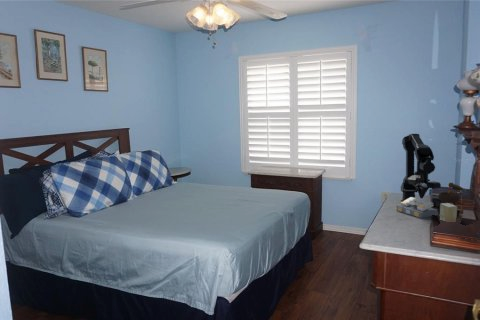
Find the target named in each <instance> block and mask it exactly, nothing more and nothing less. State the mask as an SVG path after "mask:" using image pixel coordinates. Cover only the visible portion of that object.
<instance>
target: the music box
mask: <svg viewBox="0 0 480 320" xmlns="http://www.w3.org/2000/svg"><path fill="white" fill-rule="evenodd" d="M451 188H452V190H454V191H457V193H455V192H451V190H449V189H451ZM467 190H468V188H463V187H462V186H460V185H459V184H456V183H455V184H454V182H449V183H448V191H447V192H445V191H444V192H440V193H438V194H439V196H438V198H439V200H440V201H442V203H444V202H447V203H450V204H453V205H455V206H457V205H460V209H457V218H463V217H462V216H463V215H462V214H464V210H463V209H462V206H464V205H465V202H462V201H463V200H461V196H460V193H459V191H460V192H461V194H463V191H467ZM460 200H461V201H460ZM431 204H432V203H431ZM432 205H437V207H440V206H439V205H438V204H432ZM438 216H440V212H437V217H438Z"/></svg>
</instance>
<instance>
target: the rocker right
mask: <svg viewBox="0 0 480 320" xmlns="http://www.w3.org/2000/svg"><path fill="white" fill-rule="evenodd" d="M421 204H422V205H419V206H418V207H417V210H421V211H424V210H426V209H428V208H431V207H432V206H434V205H432V204H433V203H432V204H431V201H426V202H424V203H421Z"/></svg>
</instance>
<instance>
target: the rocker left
mask: <svg viewBox="0 0 480 320" xmlns="http://www.w3.org/2000/svg"><path fill="white" fill-rule="evenodd" d="M410 200H411V201H416V202H417V198H416V197H415V198H413V197H410V198H408V199H406V200H405V201H400V205H402V206H405V207H407V206H408V205H410V204H409V201H410Z"/></svg>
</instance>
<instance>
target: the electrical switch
mask: <svg viewBox="0 0 480 320" xmlns="http://www.w3.org/2000/svg"><path fill="white" fill-rule="evenodd" d="M439 194H440V193H431V195H430V197H431V198H430V199H431V200H430V202H431V203H433V204H438V205H439V206H440V205H441V203H442V201H440V200H439V198H438V196H439ZM444 203H447V202H444ZM430 208H433V209H437V211H439V212H440V207H437V205H434V206H432V207H430Z"/></svg>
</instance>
